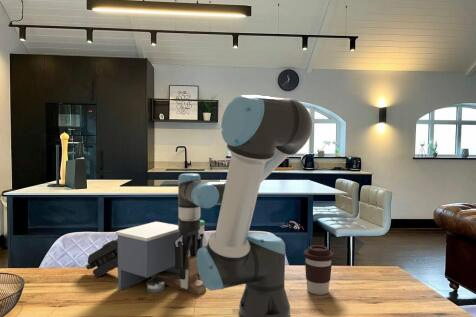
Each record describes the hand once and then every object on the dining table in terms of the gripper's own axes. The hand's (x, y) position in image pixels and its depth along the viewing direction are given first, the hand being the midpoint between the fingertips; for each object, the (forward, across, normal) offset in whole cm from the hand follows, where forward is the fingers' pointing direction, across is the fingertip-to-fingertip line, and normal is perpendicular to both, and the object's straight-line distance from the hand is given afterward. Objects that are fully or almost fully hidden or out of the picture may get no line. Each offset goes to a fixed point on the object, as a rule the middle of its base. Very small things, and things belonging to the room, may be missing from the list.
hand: (188, 285), depth 123 cm
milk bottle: (+1, -15, -8) cm, 17 cm away
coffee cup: (+1, -23, +38) cm, 45 cm away
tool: (+1, +7, -32) cm, 33 cm away
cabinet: (+1, +5, -13) cm, 14 cm away
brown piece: (+1, 0, -5) cm, 5 cm away
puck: (+1, +7, -9) cm, 11 cm away
